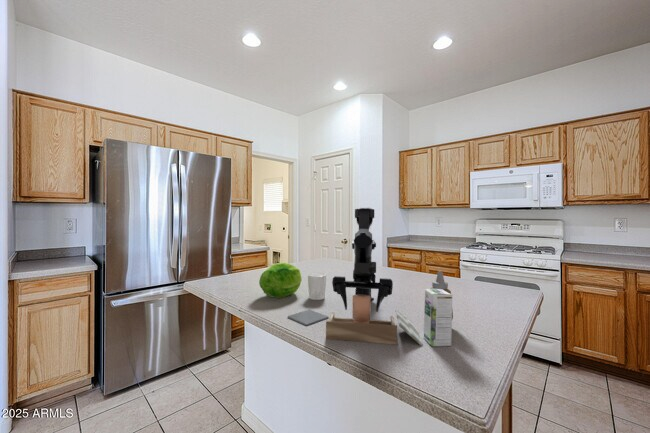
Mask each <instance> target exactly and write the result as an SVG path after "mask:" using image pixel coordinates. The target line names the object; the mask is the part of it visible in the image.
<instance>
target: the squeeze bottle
mask: <svg viewBox="0 0 650 433" xmlns="http://www.w3.org/2000/svg"><path fill="white" fill-rule="evenodd" d="M431 283H432V284H431V285H432V287H430V288H429V289H443V290H444V291H446V292H448V293H450V294H452V292H451V290H450V289H449V283H448V282H446V281H445V278H444V273H443V270H438V271H437V275H436V279H435V280H432V282H431ZM453 319H454V311H453V308H452V320H453Z"/></svg>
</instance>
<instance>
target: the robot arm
mask: <svg viewBox="0 0 650 433" xmlns="http://www.w3.org/2000/svg"><path fill="white" fill-rule="evenodd" d="M354 218H355V219H356V224H357V225H358V231H357V232H355V233H354V238H353V239H352V242H351V248H352V249H353V250H354V265H353V272H352V279H353V280H346V276H339V275H337V276H336V275H335V276H334V277H333V278H332V281H331V284H332V289H333V292H334V293H336V294H337V295H340V297H341V299H342V302H343V305H344V308H345V311H348V301H347V300H348V297H347V288H353V289H354V288H355V291H354V292H355V294H354V295H356V294H364V295H369V296H370V297H371V301H374V299H375V298H374V297H372V290H377V298H376V304H375V305H376V308H375V312H376V313H378V312H379V308H380V306H381V305H382V302H383V300H384V299H385V298H388V296H391V295H392V293H393V284H394V283H393V280H392V279H391V278H387V277H386V278H382V277H381V278H380V277H379V282H376V273H377V262H376V261H372V253H373V251H374V250H375V249H376V248H377V242H376V241H375V239H373V233H371V231H370V228H371V226H372V225H373V219H375V209H374V208H372V207H366V206H365V207H362V206H360V207H357V208H355V209H354Z"/></svg>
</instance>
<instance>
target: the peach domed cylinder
mask: <svg viewBox="0 0 650 433" xmlns="http://www.w3.org/2000/svg"><path fill="white" fill-rule="evenodd" d="M371 297H372V296H371ZM371 297H370V296H369V295H364V294H356V295H355V294H353V295H352V318H353V319H354V322H356V323H369V320H371V307H372V306H371V303H372V302H371V301H372V300H371Z"/></svg>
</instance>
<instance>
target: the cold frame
mask: <svg viewBox="0 0 650 433" xmlns="http://www.w3.org/2000/svg"><path fill="white" fill-rule="evenodd" d="M395 315H396V319H397V323H398V325H396V322H395V317H394V316H390V320H380V319H370V320H369V323H356V322H354V319H353V318H351V317H349V318H348V317H335V312H331V314H330V317H329V318H328V319H329V320H328V319H325V320H326V321H325V339H326V340H337V341H350V342H351V341H352V342H362V343H363V342H364V343H373V344H374V343H376V344H387V345H388V344H389V345H398V327H400V328H401V329H402V330H403V331H404V332H405V333H406V334H407V335H408V336H410V337H411V338H412V339H413V340H414V341H415V342H416V343H417V344H419V346H423V345H424V344H423V342H422V338H421V336H420V334H419V333H420V332H419V330H418V329H417V326H416V325H415V324H413V323H412V321H410V320H409V319H407V317H405V316H404V315H403V314H402V313H401V312H400V311H399V310H398V309H395Z"/></svg>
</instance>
